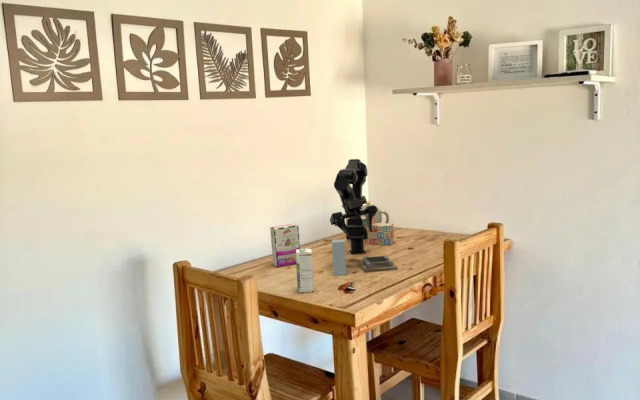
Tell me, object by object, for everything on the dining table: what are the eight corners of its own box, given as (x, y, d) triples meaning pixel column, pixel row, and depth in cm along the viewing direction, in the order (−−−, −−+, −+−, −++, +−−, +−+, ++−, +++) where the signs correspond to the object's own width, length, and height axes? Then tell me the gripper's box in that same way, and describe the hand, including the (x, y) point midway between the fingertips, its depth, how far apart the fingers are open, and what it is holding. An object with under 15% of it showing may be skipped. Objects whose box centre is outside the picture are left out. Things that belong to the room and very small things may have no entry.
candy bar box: (296, 260, 249) (294, 223, 247) (301, 263, 245) (299, 224, 242) (272, 265, 244) (269, 226, 242) (276, 267, 240) (274, 228, 237)
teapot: (351, 235, 293) (350, 203, 291) (357, 229, 306) (356, 199, 304) (387, 235, 288) (386, 203, 286) (392, 230, 301) (390, 198, 298)
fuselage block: (333, 272, 228) (331, 240, 226) (345, 271, 228) (343, 239, 226) (334, 275, 224) (332, 242, 222) (346, 275, 224) (344, 241, 222)
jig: (358, 264, 238) (357, 257, 238) (389, 261, 240) (389, 254, 240) (364, 272, 226) (364, 265, 225) (397, 269, 227) (397, 262, 227)
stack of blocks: (394, 242, 273) (393, 216, 272) (390, 245, 268) (389, 219, 266) (351, 241, 282) (350, 215, 280) (346, 244, 276) (345, 218, 274)
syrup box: (297, 288, 210) (294, 249, 208) (313, 287, 211) (311, 247, 208) (297, 293, 205) (295, 252, 202) (314, 291, 205) (312, 251, 203)
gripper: (330, 194, 224) (342, 230, 218) (374, 185, 230) (387, 221, 223) (324, 206, 234) (336, 242, 228) (367, 198, 239) (380, 232, 233)
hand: (360, 234), depth 228 cm, fingers open, 9 cm apart
